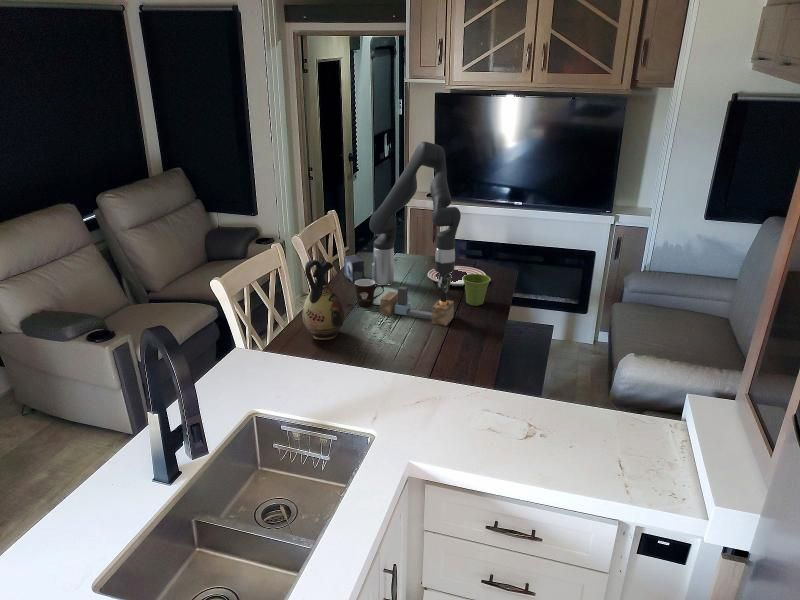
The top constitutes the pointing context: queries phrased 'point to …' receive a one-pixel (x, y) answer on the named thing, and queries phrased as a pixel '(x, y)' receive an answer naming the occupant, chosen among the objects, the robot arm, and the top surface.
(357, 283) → the coffee mug
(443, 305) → the button
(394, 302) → the stand
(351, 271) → the small box
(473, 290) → the plant pot
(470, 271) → the dinner plate
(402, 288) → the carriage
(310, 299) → the ceramic jug
